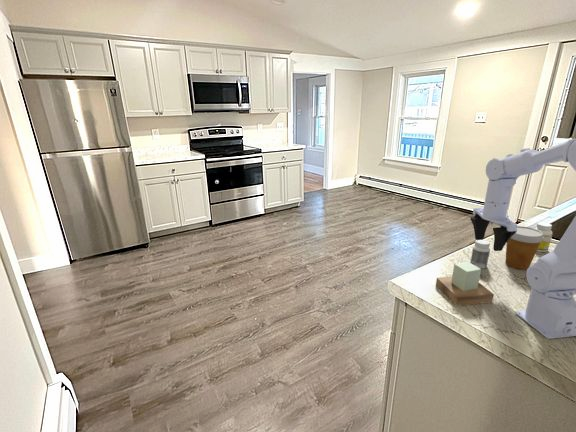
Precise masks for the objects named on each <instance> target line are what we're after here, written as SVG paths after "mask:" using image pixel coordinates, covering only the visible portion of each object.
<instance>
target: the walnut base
mask: <svg viewBox="0 0 576 432" xmlns="http://www.w3.org/2000/svg"><path fill="white" fill-rule="evenodd" d="M451 281H452V275H451V276H442V277H436V281H435V286H436V287H437V288H438V289H439V290H440V291H441V292H442V293H443V294H444V295H445V296H446V297H447V298H448V299H449V300H450V301H451V302H452V303H453V304H454V305H455V306H464V305H465V306H466V305H476V304H478V305H479V304H486V303H488V304H489V303H493V299H494V296H495V294H494V293H493V292H492V291H491V290H489V289H488V288H487V287H486V286H484V285H482V283H480V282H479V283H478V288H477V289H472V290H467V291H462V290H461V289H460V288H458V287H457V286H455V285H454V284H453V283H451Z"/></svg>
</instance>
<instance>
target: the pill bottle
mask: <svg viewBox="0 0 576 432" xmlns="http://www.w3.org/2000/svg"><path fill="white" fill-rule="evenodd" d="M490 245H491V242H490V241H488V240H485V239H483V240H476V239H475V242H474V245H473V247H472V251H471V257H470V261H469V262H470V263H471V264H473V265H475V266H477V267H478V268H480V269H485V268H487V266H488V261H489V258H490V257H489V256H490V252H491V248H490Z"/></svg>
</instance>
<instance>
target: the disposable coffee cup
mask: <svg viewBox="0 0 576 432" xmlns="http://www.w3.org/2000/svg"><path fill="white" fill-rule="evenodd" d="M516 230H517V232H516V233H515V234H514V235H513V236H512V237H511V238H510V239H509V240H508V241H507V242H506V247H505V248H506V250H505V265H507V266H508V267H511V268H514V269H516V270H527V269H528V268H529V266H531V265H532V262H533V260H534V258H535V255H536V253H537V249H538V247H539V244H540V242H541V241H542V240H543V239H544V237H543V233H542V232H541V231H539V230H537V229H535V228H533V227H528V226H523V225H522V226H521V225H517V229H516Z"/></svg>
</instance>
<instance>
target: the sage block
mask: <svg viewBox="0 0 576 432" xmlns="http://www.w3.org/2000/svg"><path fill="white" fill-rule="evenodd" d="M481 272H482V268H478V267H477V266H475V265H473V264H471V263H470V261H462V262H458V263H457V262H456V263H454V265H453V271H452V275H451V276H452V281H451V283H453V284H454V285H455V286H457V287H458V288H460V289H461V290H462V291H467V290H472V289H477V288H478V283H480V277H481Z"/></svg>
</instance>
